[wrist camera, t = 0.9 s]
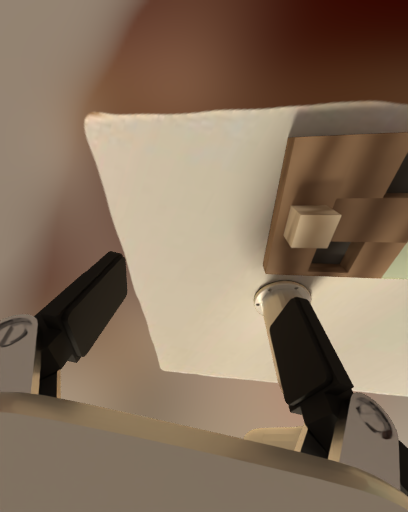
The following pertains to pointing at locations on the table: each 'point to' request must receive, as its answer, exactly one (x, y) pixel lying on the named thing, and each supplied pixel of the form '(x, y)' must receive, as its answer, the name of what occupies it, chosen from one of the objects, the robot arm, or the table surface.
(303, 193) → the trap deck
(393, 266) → the pad
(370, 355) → the table surface
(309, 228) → the maple block
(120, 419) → the robot arm
